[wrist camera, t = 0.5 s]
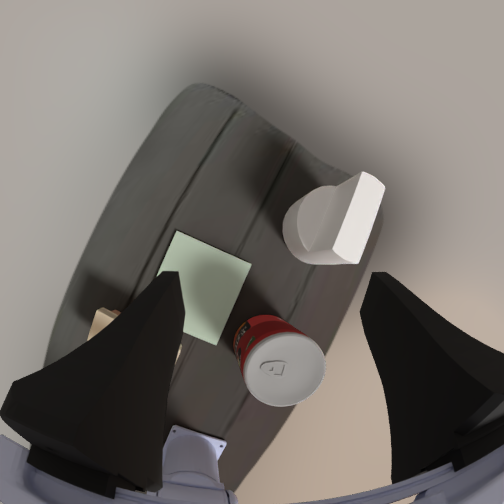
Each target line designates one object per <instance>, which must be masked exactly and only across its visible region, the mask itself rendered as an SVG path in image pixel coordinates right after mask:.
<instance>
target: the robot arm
mask: <svg viewBox="0 0 504 504" xmlns="http://www.w3.org/2000/svg"><path fill="white" fill-rule="evenodd" d="M185 314H186V312H185V306H184V301H183V295H182V289H181V283H180V277H179V271H162V272H161V273H160V274H159V275H158V276H157V277H156V278H155V279H154V280H153V281H152V282H151V283H150V284H149V285H148V286H147V287H146V288H145V290H144V291H143V292H142V293H141V294H140V295H139V296H138V297H137V298H136V299H135V300H134V301H133V302H132V303H131V304H130V305H129V306H128V307H127V308H126V309H125V310H124V311H122V312H121V313H120V314H119V315H118V316H117V317H116V318H115V319H114V320H113V321H112V322H111V323H110V324H108V325H107V326H106V327H105V328H104V329H102V330H101V331H100V332H99V333H97V334H96V335H95V336H94V337H92V338H91V339H90V340H88V341H87V342H85V343H84V344H82V345H81V346H80V347H78V348H77V349H75V350H74V351H72V352H71V353H69V354H68V355H66V356H64V357H63V358H61V359H59V360H58V361H56V362H54V363H52V364H51V365H49V366H47V367H45V368H43V369H41V370H39V371H37V372H35V373H33V374H30V375H28V376H26V377H23V378H21V379H19V380H16V381H14V382H13V383H12V386H11V388H10V390H9V392H8V394H7V397H6V399H5V401H4V403H3V405H2V408H1V410H0V416H1V418H2V420H3V421H4V422H5V423H6V424H7V425H8V426H10V427H11V428H12V429H13V430H14V431H16V432H17V433H18V434H19V435H20V436H22V437H23V438H24V439H26V440H27V441H28V442H30V443H31V444H32V446H31V449H30V450H28V449H27V448H25V447H23V446H22V445H20V444H18V443H16V442H14V441H13V440H11V439H9V438H7V437H6V436H4V435H0V502H2V503H3V504H238V500H237V497H236V495H235V494H234V493H233V492H232V491H231V490H225V491H224V484H223V483H220V481H219V472H218V463H217V460H218V459H219V457H220V455H221V453H222V451H223V450H224V448H225V446H226V441H225V440H221V439H218V438H214V437H211V436H208V435H204V434H201V433H198V432H195V431H192V430H189V429H186V428H183V427H180V426H178V425H173V426H172V428H171V431H170V433H169V435H168V438H167V440H166V442H165V445H164V447H163V437H164V424H165V414H166V405H167V397H168V391H169V386H170V382H171V378H172V374H173V370H174V366H175V362H176V359H177V355H178V351H179V347H180V343H181V339H182V335H183V328H184V321H185ZM360 316H361V320H362V325H363V329H364V333H365V336H366V339H367V342H368V345H369V347H370V350H371V353H372V356H373V358H374V361H375V364H376V367H377V369H378V372H379V375H380V378H381V381H382V385H383V388H384V393H385V398H386V403H387V409H388V416H389V424H390V434H391V447H392V470H391V480H392V485H388V486H385V487H381V488H377V489H374V490H370V491H366V492H361V493H357V494H352V495H348V496H343V497H337V498H332V499H325V500H318V501H311V502H302V503H291V504H390V503H393V502H396V501H399V500H402V499H405V498H407V497H411V496H413V495H416V494H418V493H419V494H418V495H417V496H416V498H415V500H414V501H413V502H412V503H410V504H504V353H502V352H500V351H497V350H495V349H493V348H491V347H489V346H487V345H485V344H483V343H482V342H480V341H478V340H476V339H475V338H473V337H471V336H470V335H468V334H466V333H465V332H463V331H462V330H460V329H459V328H457V327H456V326H454V325H453V324H451V323H450V322H449V321H447V320H446V319H445V318H443V317H442V316H440V315H439V314H438V313H437V312H435V311H434V310H433V309H432V308H430V307H429V306H428V305H427V304H425V303H424V302H423V301H422V300H421V299H419V298H418V297H417V296H416V295H414V294H413V293H412V292H411V291H410V290H408V289H407V288H406V287H405V286H404V285H403V284H401V283H400V282H399V281H398V280H396V279H395V278H394V277H392V276H391V275H389V274H388V273H386V272H372V275H371V279H370V281H369V285H368V288H367V291H366V294H365V297H364V300H363V303H362V306H361V309H360ZM173 430H176V431H173ZM220 445H223V446H220ZM135 490H138V491H142V492H145V491H147V494H142V493H138V492H135Z"/></svg>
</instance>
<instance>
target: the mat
mask: <svg viewBox="0 0 504 504" xmlns="http://www.w3.org/2000/svg"><path fill="white" fill-rule="evenodd" d="M251 265H252V264H250V263H248V262H245V261H243V260H241V259H239V258H236V257H234V256H232V255H230V254H227V253H225V252H223V251H221V250H219V249H216V248H214V247H212V246H210V245H207V244H205V243H203V242H201V241H199V240H196V239H194V238H192V237H190V236H188V235H185V234H183V233H181V232H179V231H176V233H175V236H174V238H173V240H172V242H171V244H170V247H169V249H168V251H167V253H166V256H165V258H164V260H163V263H162V265H161V267H160V270H159V272H158V274H157V276H158V275H159V274H160V273H161V272H162V271H179V277H180V283H181V289H182V295H183V301H184V306H185V312H186V314H185V321H184V328H183V332H185V333H187V334H190V335H192V336H195V337H197V338H199V339H202V340H204V341H207V342H209V343H212V344H214V345H217V343H218V340H219V338H220V336H221V333H222V331H223V329H224V327H225V324H226V322H227V320H228V317H229V315H230V313H231V311H232V308H233V306H234V304H235V301H236V299H237V297H238V295H239V292H240V290H241V288H242V285H243V283H244V281H245V278H246V276H247V274H248V272H249V269H250V267H251Z"/></svg>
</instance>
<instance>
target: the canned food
mask: <svg viewBox="0 0 504 504" xmlns="http://www.w3.org/2000/svg"><path fill="white" fill-rule="evenodd" d="M233 347H234V352H235V355H236V358H237V361H238V364H239V367H240V370H241V373H242V376H243V379H244V381H245V384H246V386H247V388H248V389H249V391H250V392H251V394H252V395H253V396H254V397H255V398H256V399H258V400H260V401H261V402H263V403H265V404H268V405H272V406H291V405H294V404H297V403H300V402H302V401H304V400H306V399H307V398H308V397H310V396H311V395H312V394H313V393H314V392H315V391H316V390H317V389H318V388H319V386H320V385H321V383H322V381H323V378H324V376H325V370H326V361H325V357H324V354H323V352H322V350H321V349H320V347H319V346H318V345H317V344H316V343H315V342H314V341H313V340H312V339H311V338H309V337H308V336H307V335H305V334H304V333H302V332H301V331H299V330H298V329H296V328H295V327H293V326H292V325H290V324H289V323H287V322H286V321H284V320H283V319H281V318H279V317H276V316H273V315H259V316H255V317H252V318H250V319H248V320H247V321H246V322H244V323H243V324H242V325H241V326H240V327H239V329H238V330H237V332H236V334H235V337H234V342H233Z"/></svg>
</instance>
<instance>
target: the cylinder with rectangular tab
mask: <svg viewBox="0 0 504 504" xmlns="http://www.w3.org/2000/svg"><path fill="white" fill-rule="evenodd" d="M384 190H385V186H384V185H383V184H382V183H381V182H380V181H379V180H377V179H376V178H375V177H374V176H372V175H370V174H368V173H366V172H361V173H359V174H357V175H356V176H354V177H352V178H350V179H348V180H347V181H345V182H343V183H342V184H340V185H338V186H331V185H330V186H322V187H319V188H317V189H315V190H313V191H311V192H310V193H308V194H307V195H305V196H304V197H302V198H301V199H299V200H298V201H296V202H295V203H294V204H293V205H292V206H291V207H290V208H289V209H288V211H287V213H286V214H285V217H284V220H283V230H282V232H283V237H284V241H285V243H286V245H287V247H288V249H289V250H290V252H291V253H292V254H293V255H294V256H295V257H296V258H298V259H299V260H301V261H303V262H305V263H308V264H358V263H359V261H360V258H361V256H362V253H363V250H364V248H365V245H366V242H367V240H368V237H369V234H370V232H371V229H372V226H373V223H374V220H375V217H376V215H377V212H378V209H379V206H380V203H381V199H382V196H383V193H384Z"/></svg>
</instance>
